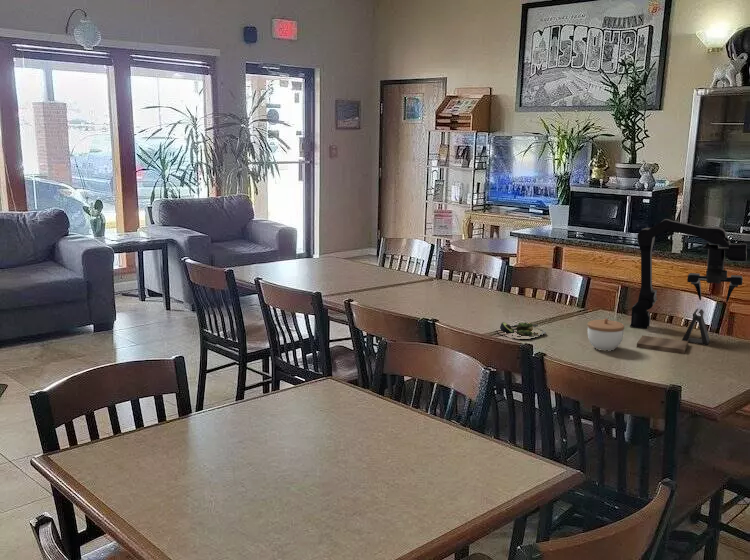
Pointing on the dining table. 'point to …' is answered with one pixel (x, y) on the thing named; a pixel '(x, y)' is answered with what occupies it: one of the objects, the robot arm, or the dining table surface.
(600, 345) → the lidded bowl
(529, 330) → the salad plate
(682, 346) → the walnut board
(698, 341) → the gray triangular stand
